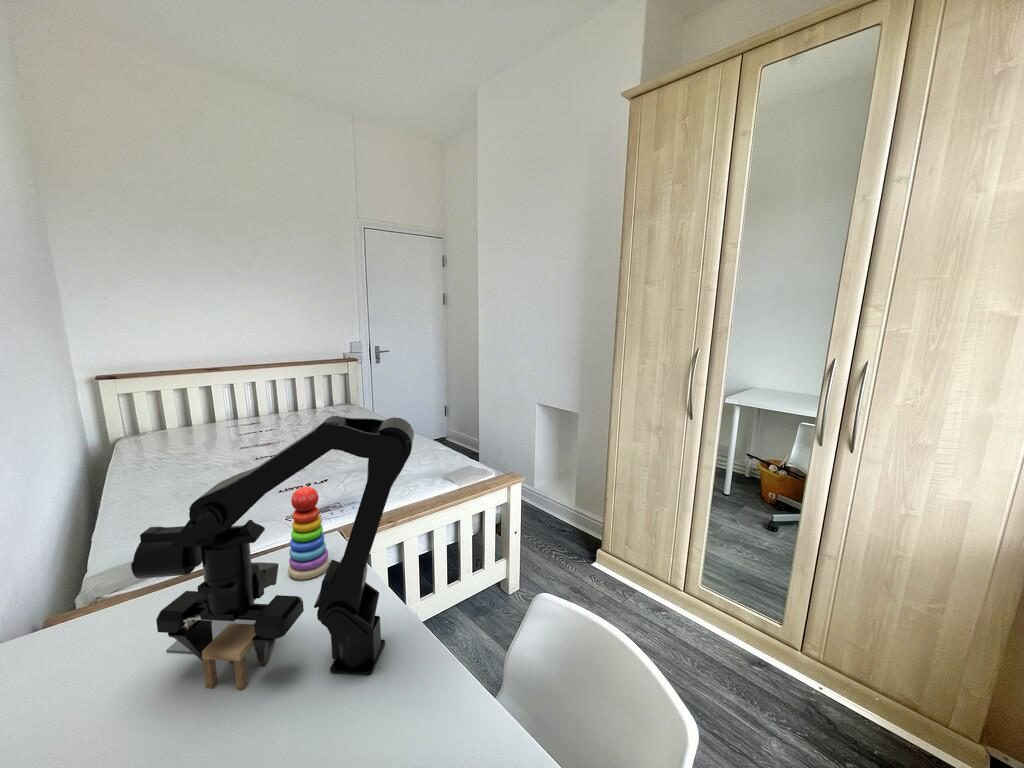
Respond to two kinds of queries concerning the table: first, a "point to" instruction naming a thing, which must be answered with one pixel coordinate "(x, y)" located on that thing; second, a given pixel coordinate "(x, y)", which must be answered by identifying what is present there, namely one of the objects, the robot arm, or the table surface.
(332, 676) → the table surface
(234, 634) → the stool
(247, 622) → the mat
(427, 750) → the table surface
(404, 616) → the table surface
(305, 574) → the stacking toy
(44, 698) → the table surface
